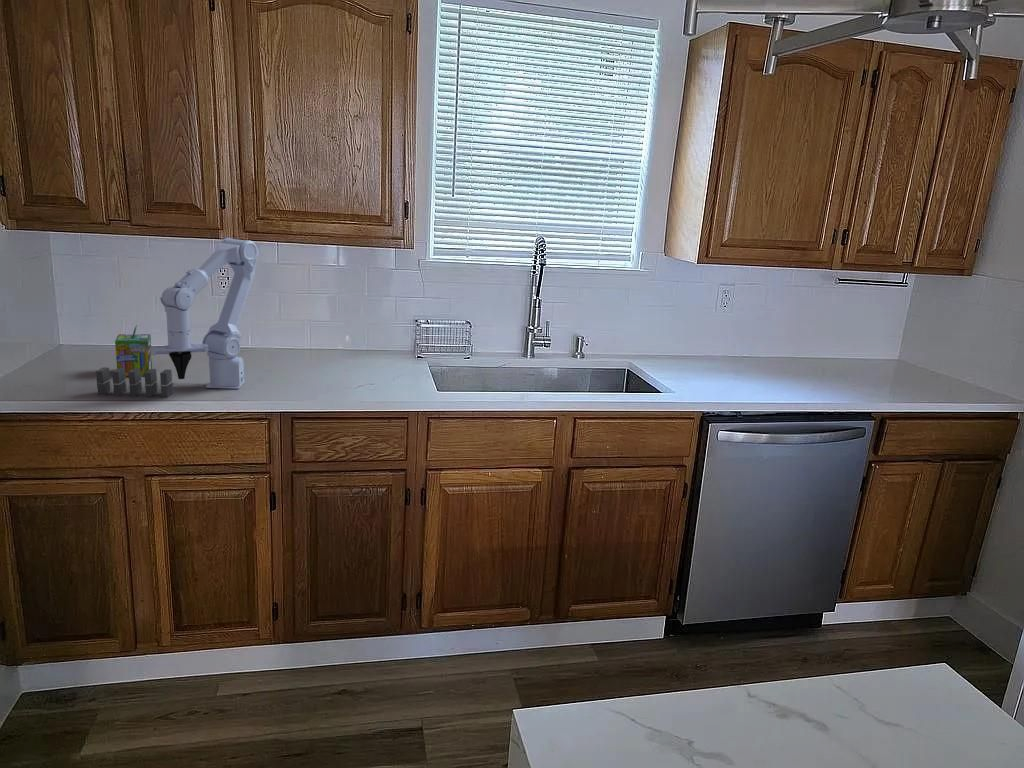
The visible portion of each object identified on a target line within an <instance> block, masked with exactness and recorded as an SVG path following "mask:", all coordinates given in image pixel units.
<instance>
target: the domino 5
mask: <svg viewBox="0 0 1024 768" xmlns="http://www.w3.org/2000/svg"><path fill="white" fill-rule="evenodd" d="M159 378H160V391H161V393H160V394H161V398H165V399H167V398H169V397H170V396H172V395H173V393H174V391H173V375H172V369H167V368H166V369H164V370H163V371H161V372H160V373H159Z"/></svg>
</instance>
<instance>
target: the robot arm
mask: <svg viewBox="0 0 1024 768" xmlns="http://www.w3.org/2000/svg"><path fill="white" fill-rule="evenodd" d="M259 256H260V252H259V250H258V247H257V245H256V243H255V242H254V241H252V240H250V239H249V240H247V239H246V240H244V239H243V240H242V239H235V238H232V237H226V238H224V239H222V240H221V241H220V242H219V243H218V244H217V245H216V249H215V250H214V251H213V253H211V254H210V256H209V257H208V258H207V259H206V260H205V262H203V264H201V266H200V267H199V268H197V269H196V268H192V269H187V271H186V272H185V273H186V274H185V275H184V276H183V277H182V278H181V279H180V280H179V281H176V282H175V283H174V285H173V286H168V287H166V288H165V289H164V290H163V291H162V294H161V297H159V299H160V302H161V304H162V305H163V306H164V312H165V314H166V315H165V316H166V328H167V329H166V330H167V331H166V332H167V345H159V346H151V347H150V350H151V356H156V355H168V356H169V357H170V359H171V361H172V363H173V366H174V367H175V370H176V373H177V374H176V375H177V378H178V379H179V380H185V377H186V371H187V368H188V365H189V364H190V361H191V359H192V354H193V353H206V355H207V357H208V366H209V367H208V368H209V383H207V384H206V386H205V388H207V389H233V390H234V389H235V390H237V389H240V388H241V387H242V386H243V384H245V382H246V381H245V363H244V358H243V357H241V356H238V354H239V352H240V350H241V339H242V337H243V336H242V334H241V332H240V331H239V329H238V326H239V323H240V320H241V317H242V313H243V311H244V308H245V305H246V302H247V298H248V295H249V293H250V289H251V287H252V284H253V282H254V278H255V275H256V266H257V262H258V259H259ZM226 264H228V266H229V267H230V268H231V269H232V271H233V272H234V274H233V277H232V280H231V282H230V285H229V289H228V291H227V294H226V298H225V300H224V304H223V307H222V309H221V312H220V315H219V319H218V321H217V322H216V323H214V324H213V325H211V326H210V327H209V329H208V331H207V333H206V334H205V335H204V336H203V338H202V343H201V344H196V343H194V344H191V342H192V341H191V323H190V308H192V307H193V304H194V301H195V299H196V296H197V295H198V294H199V293H200V292H201V291H202V290H204V289H205V288H206V286H208V284H209V278H210V277H211V276H213V275H214V274H215V273H216V272H217V271H218V270H220V269H221V268H223V266H225V265H226Z"/></svg>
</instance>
